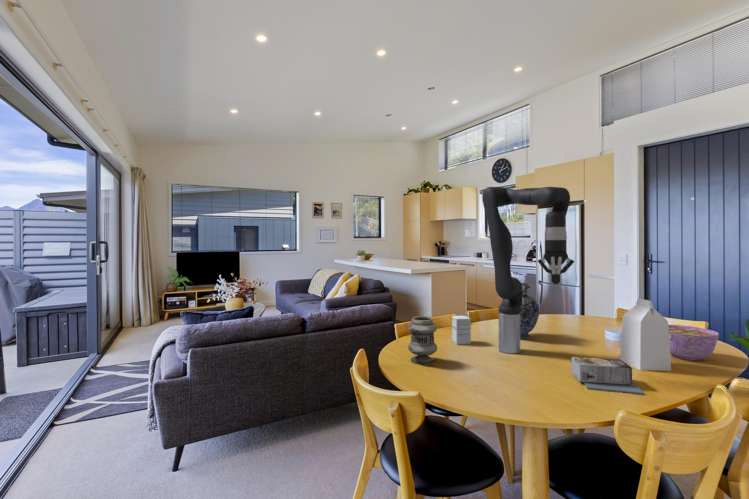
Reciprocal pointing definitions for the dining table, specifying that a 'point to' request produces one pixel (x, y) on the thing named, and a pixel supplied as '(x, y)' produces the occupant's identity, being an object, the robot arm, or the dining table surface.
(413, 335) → the apothecary jar
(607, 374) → the coffee box
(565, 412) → the dining table surface
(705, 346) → the bowl of food
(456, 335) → the supplement box
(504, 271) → the robot arm
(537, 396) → the dining table surface
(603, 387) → the grey mat
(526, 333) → the decorative vase
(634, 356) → the milk
